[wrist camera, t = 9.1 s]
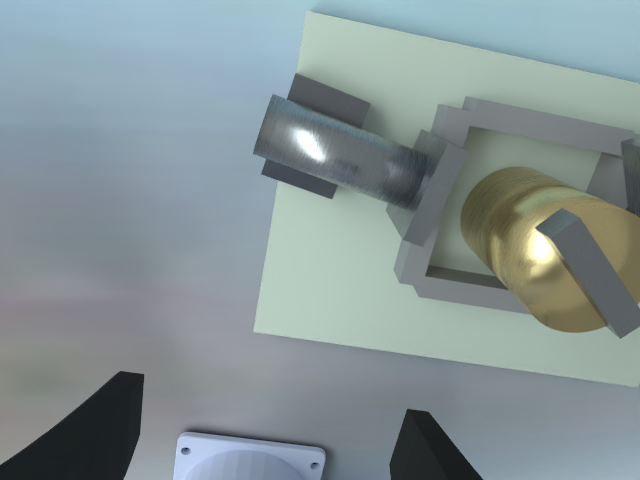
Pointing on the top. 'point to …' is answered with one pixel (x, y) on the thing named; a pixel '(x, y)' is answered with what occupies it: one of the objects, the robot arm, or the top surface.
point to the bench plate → (445, 237)
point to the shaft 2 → (631, 172)
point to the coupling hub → (557, 250)
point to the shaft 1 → (356, 156)
